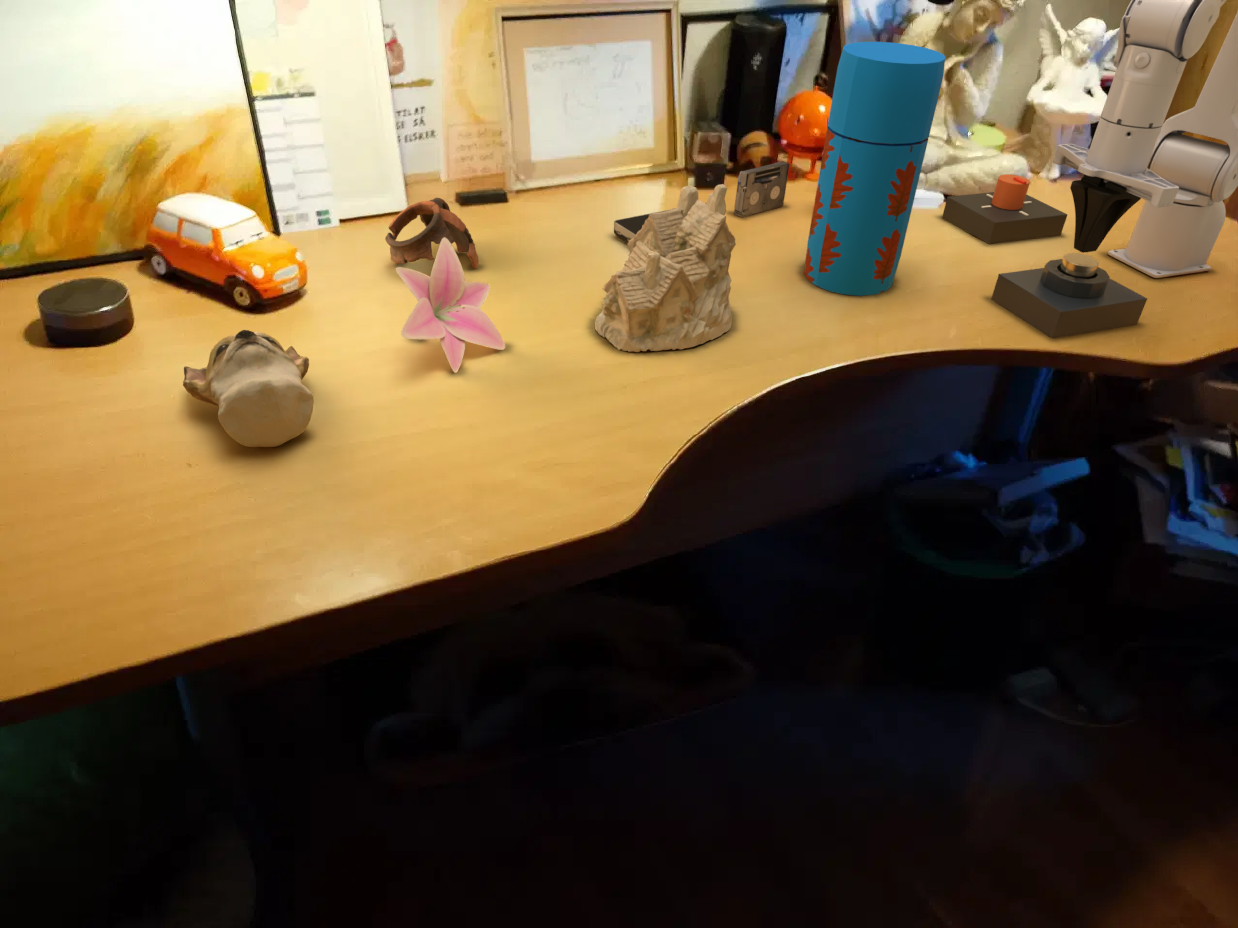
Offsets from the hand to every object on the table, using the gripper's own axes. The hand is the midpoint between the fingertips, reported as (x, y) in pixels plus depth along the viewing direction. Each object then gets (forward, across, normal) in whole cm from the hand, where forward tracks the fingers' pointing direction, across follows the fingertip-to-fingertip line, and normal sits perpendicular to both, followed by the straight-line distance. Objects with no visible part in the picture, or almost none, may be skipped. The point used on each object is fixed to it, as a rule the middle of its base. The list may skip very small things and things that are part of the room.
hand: (1084, 249), depth 99 cm
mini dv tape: (+8, -38, -19) cm, 43 cm away
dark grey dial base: (+8, -24, +11) cm, 27 cm away
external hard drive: (+8, -32, -36) cm, 49 cm away
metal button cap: (+3, 0, 0) cm, 3 cm away
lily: (+8, -10, -68) cm, 69 cm away
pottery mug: (+8, -32, -65) cm, 73 cm away
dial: (+4, -24, +11) cm, 27 cm away
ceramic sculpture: (+8, -3, -86) cm, 86 cm away
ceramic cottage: (+8, -12, -45) cm, 47 cm away
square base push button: (+8, 0, 0) cm, 8 cm away
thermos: (+8, -15, -19) cm, 25 cm away
